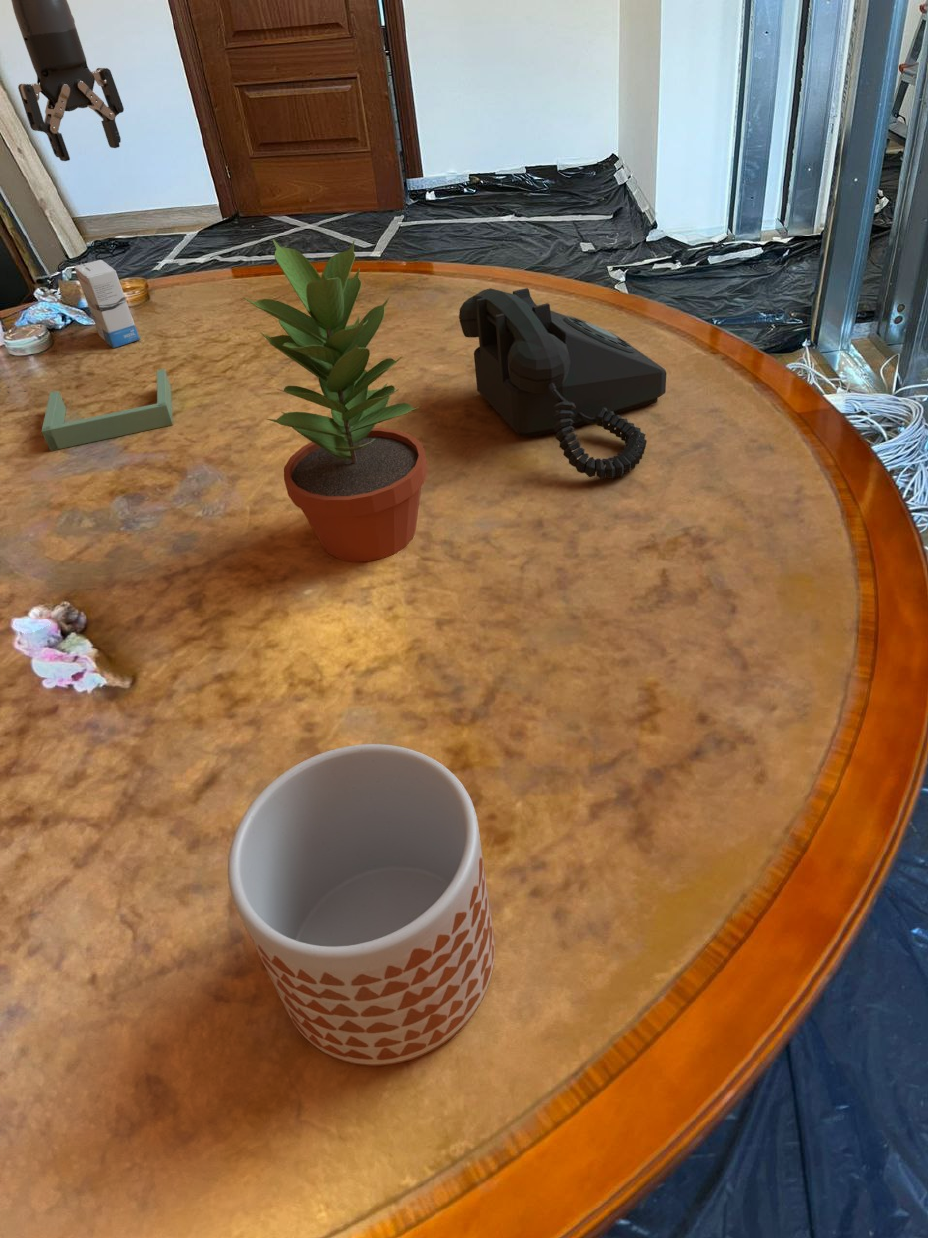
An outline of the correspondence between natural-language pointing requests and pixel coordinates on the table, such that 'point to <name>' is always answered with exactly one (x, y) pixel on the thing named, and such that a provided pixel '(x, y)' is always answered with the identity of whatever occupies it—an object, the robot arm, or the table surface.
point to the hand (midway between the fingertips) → (90, 153)
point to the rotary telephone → (559, 375)
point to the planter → (367, 901)
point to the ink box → (107, 303)
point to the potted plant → (345, 418)
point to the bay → (106, 420)
